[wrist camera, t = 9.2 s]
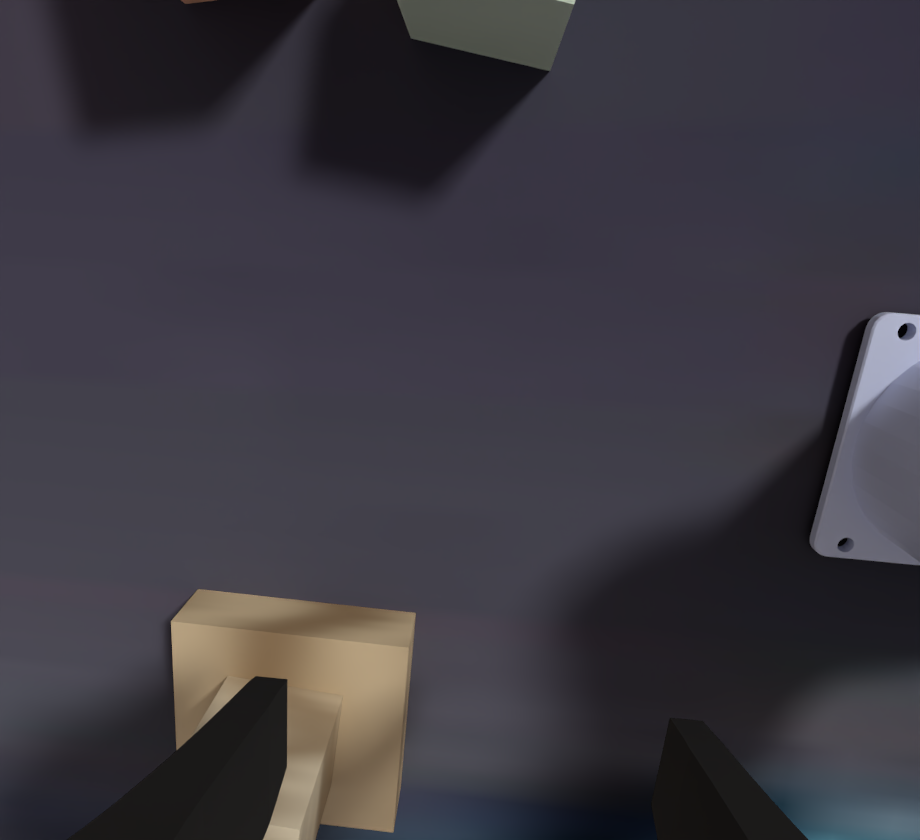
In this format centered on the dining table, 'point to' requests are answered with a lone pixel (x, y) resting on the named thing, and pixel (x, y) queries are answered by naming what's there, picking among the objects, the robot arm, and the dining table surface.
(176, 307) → the dining table surface
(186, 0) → the terracotta block
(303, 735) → the maple block
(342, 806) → the oak slab
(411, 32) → the sage block
